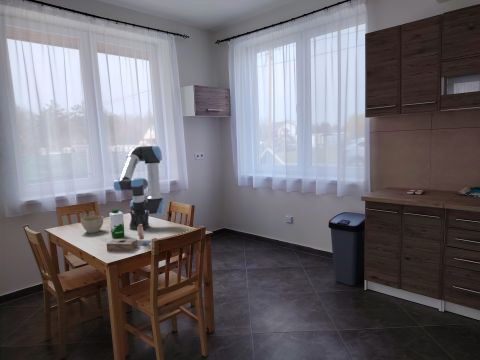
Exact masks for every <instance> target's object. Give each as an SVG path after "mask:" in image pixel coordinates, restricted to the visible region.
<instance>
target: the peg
mask: <svg viewBox="0 0 480 360" xmlns="http://www.w3.org/2000/svg"><path fill="white" fill-rule="evenodd" d="M142 226H143V225H142V224H139V225H138V227H139V236H138V238H139V239H138V240H145V235H144V236H142Z"/></svg>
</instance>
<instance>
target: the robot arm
mask: <svg viewBox="0 0 480 360" xmlns="http://www.w3.org/2000/svg"><path fill="white" fill-rule="evenodd" d="M125 159H126V162H125V165H124V167H123V169H122V173H121V175H120V177H119V179H117V180H116V179H115V180H114V181H113V189H114V190H115V192H116V191H117V192H126V191H127V192H128V191H131V194H132V195H131V196H132V199H131V201H130V202H129V203H130V205H129V208H130V211H129V214H130V223H129V230H132V231H136V232H137V236H138V237H139V227H138V225H139V224H142V225H143V226H142V236H144V237H145V235H146V230H147V228H149V227H150V223H149V217H150V215H160V214H161V215H162V214H164V211H165V205H166V202H165V201H166V200H165V199H164V198H163V196H162V195H161V193H160V192H161V189H160V188H161V186H160V171H159V165H160V164H161V161H162V160H163V155H162V150H161V148H160V147H159V146H158V145H147V146H146V145H144V146H143V145H141V146H136V147H134V148H133V149H132V150H130V152H129V153H128V154H127V156H126V158H125ZM140 162H144V165H146V171H147V179H146V178H142V177H135V178H134V177H133V176H134V173H135V170H136V167H137V165H138V164H139V163H140ZM147 188H148V196H147V198H145V190H147Z"/></svg>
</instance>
